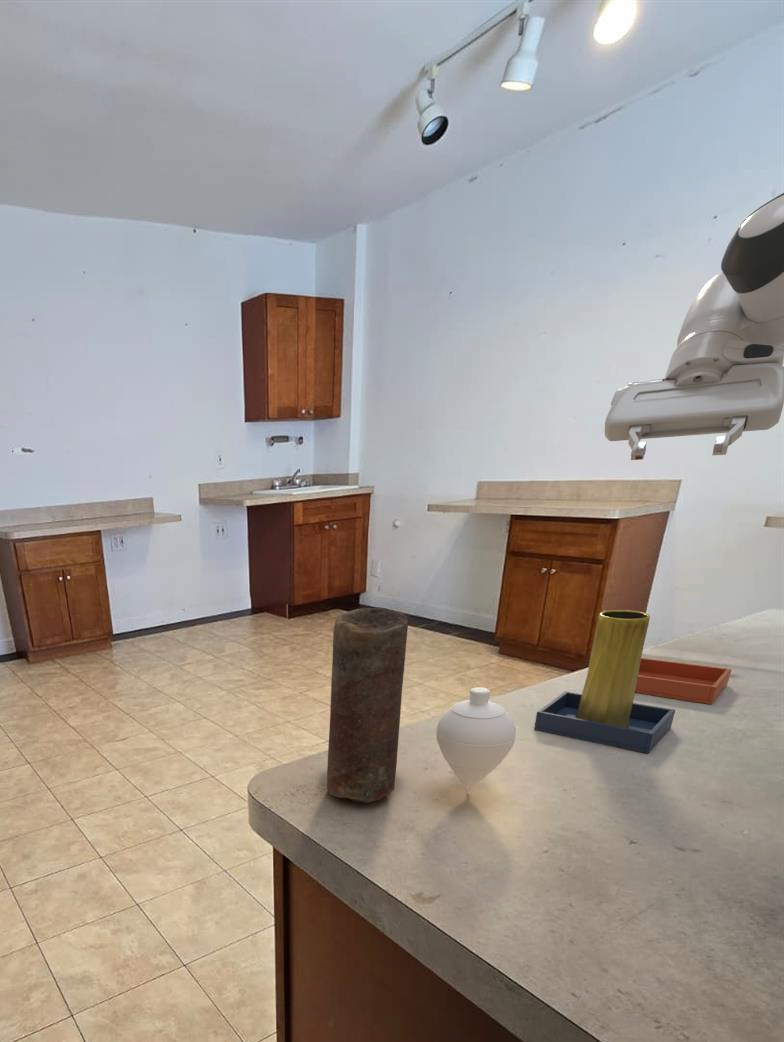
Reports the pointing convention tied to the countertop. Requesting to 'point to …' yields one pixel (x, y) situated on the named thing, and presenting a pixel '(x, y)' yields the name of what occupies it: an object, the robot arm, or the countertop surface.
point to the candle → (366, 703)
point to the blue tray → (640, 735)
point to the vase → (614, 667)
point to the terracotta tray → (681, 680)
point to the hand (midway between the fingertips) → (676, 454)
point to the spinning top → (475, 737)
